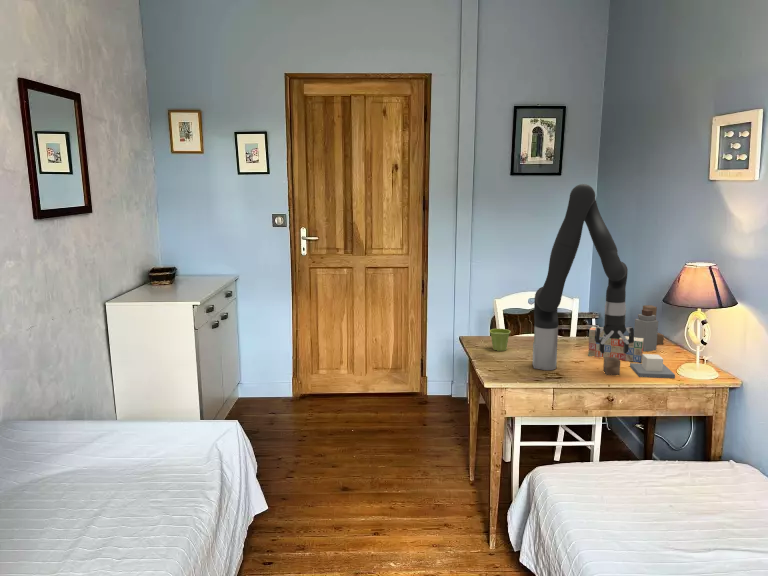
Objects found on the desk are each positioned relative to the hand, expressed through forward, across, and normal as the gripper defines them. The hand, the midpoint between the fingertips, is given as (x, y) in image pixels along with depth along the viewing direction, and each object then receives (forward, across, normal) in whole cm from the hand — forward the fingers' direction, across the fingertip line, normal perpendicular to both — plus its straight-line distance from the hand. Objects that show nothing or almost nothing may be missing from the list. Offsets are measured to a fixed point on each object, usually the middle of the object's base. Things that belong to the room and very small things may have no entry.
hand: (613, 352), depth 224 cm
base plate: (+9, -15, -2) cm, 18 cm away
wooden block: (+9, -29, -46) cm, 55 cm away
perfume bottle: (+9, -23, -36) cm, 44 cm away
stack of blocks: (+9, -6, -22) cm, 24 cm away
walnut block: (+8, +1, 0) cm, 8 cm away
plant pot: (+8, +42, -29) cm, 52 cm away
